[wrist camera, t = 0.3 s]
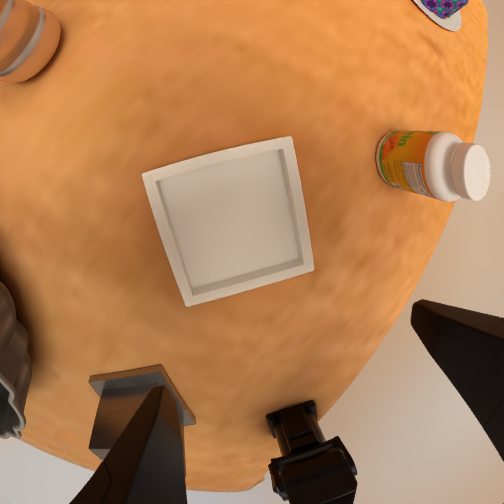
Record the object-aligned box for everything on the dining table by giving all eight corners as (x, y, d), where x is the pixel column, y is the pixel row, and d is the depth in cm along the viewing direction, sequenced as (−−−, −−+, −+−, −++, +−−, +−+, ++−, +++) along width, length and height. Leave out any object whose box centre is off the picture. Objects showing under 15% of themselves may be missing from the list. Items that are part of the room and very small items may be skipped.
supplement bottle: (404, 123, 21) (485, 124, 12) (421, 172, 23) (498, 191, 14) (365, 144, 21) (450, 149, 12) (386, 197, 23) (466, 225, 14)
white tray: (306, 262, 23) (314, 270, 22) (186, 296, 22) (186, 307, 21) (283, 137, 19) (291, 135, 18) (146, 172, 18) (141, 173, 17)
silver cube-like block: (195, 417, 28) (201, 479, 20) (132, 426, 27) (127, 482, 19) (161, 364, 24) (155, 438, 16) (90, 375, 24) (71, 439, 15)
